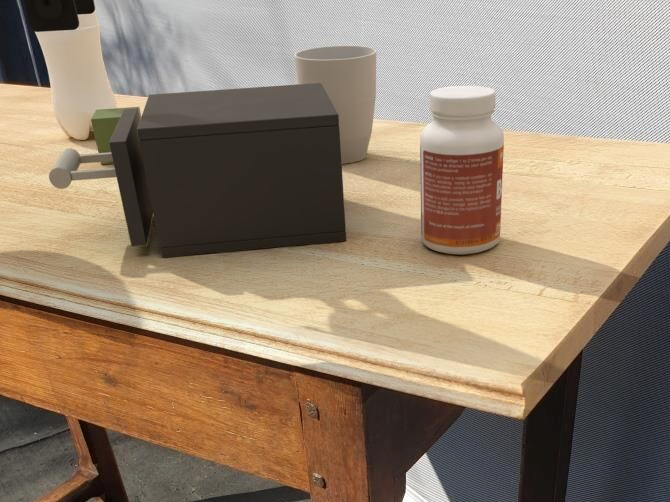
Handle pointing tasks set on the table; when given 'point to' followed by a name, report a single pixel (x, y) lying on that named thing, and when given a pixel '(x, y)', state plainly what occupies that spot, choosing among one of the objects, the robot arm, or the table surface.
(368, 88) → the cup
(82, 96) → the water bottle
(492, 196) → the pill bottle
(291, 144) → the dark grey box
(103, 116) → the block
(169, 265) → the table surface
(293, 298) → the table surface
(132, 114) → the grey drawer with handle
